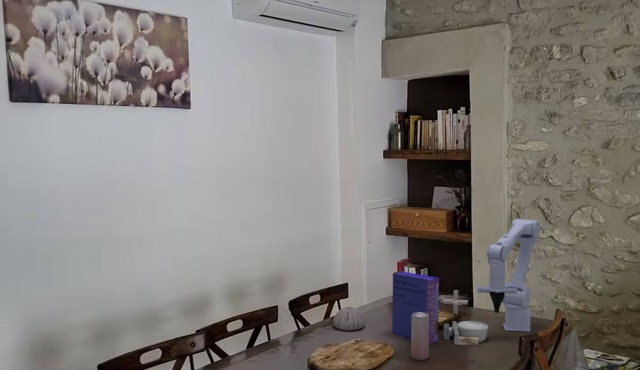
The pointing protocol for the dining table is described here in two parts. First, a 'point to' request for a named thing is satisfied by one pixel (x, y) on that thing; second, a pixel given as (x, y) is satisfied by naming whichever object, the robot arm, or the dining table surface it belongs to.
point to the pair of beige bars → (468, 341)
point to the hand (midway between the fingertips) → (496, 312)
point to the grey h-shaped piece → (451, 332)
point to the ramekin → (473, 329)
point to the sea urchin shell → (349, 319)
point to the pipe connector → (455, 302)
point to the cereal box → (414, 302)
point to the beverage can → (420, 336)
